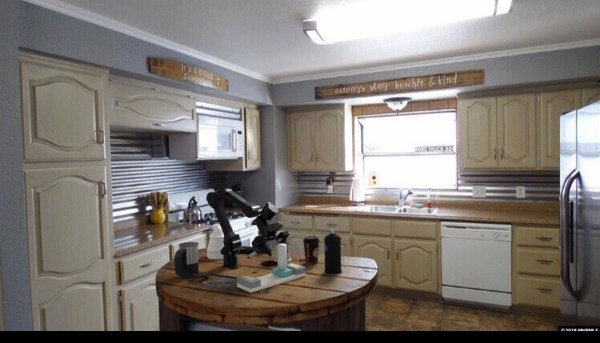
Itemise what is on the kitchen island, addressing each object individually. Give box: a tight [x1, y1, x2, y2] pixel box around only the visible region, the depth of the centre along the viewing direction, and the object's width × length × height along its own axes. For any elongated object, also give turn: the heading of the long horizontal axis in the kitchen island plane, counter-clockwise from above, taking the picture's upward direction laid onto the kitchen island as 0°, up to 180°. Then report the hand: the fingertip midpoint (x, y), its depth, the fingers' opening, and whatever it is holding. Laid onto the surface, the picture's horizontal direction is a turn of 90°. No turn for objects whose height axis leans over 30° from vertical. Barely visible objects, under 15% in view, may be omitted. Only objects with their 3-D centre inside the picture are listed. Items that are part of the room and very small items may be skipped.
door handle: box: [237, 245, 273, 259], centre depth 206 cm, size 3×20×16 cm
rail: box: [236, 262, 307, 294], centre depth 158 cm, size 30×10×4 cm, turn 132°
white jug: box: [206, 223, 224, 260], centre depth 202 cm, size 13×13×18 cm
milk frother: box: [173, 241, 212, 279], centre depth 166 cm, size 14×16×15 cm
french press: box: [269, 212, 293, 263], centre depth 193 cm, size 10×12×25 cm
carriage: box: [271, 244, 293, 277], centre depth 162 cm, size 6×7×13 cm
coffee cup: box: [302, 235, 321, 265], centre depth 186 cm, size 9×8×13 cm
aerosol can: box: [323, 228, 343, 275], centre depth 170 cm, size 8×8×20 cm
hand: (279, 254), depth 163 cm, fingers open, 9 cm apart
